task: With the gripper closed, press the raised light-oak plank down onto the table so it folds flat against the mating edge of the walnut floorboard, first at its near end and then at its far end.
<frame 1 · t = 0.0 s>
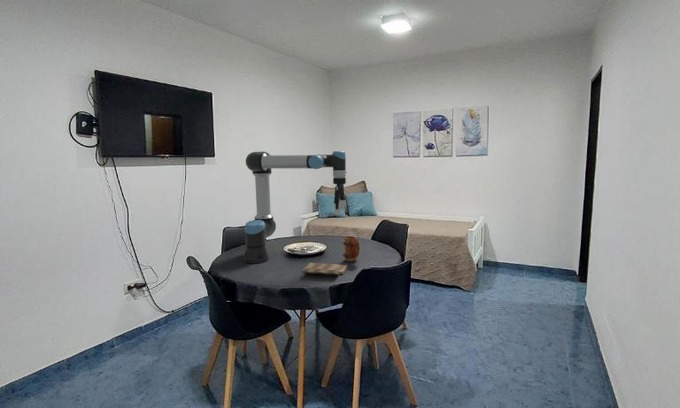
hand: (339, 212, 224), 28 cm above the table, fingers open, 13 cm apart
plank: (321, 271, 196), point 2 cm above the table, hinge at 25.0°
floorboard: (325, 269, 206), on the table
mug: (352, 262, 220), on the table
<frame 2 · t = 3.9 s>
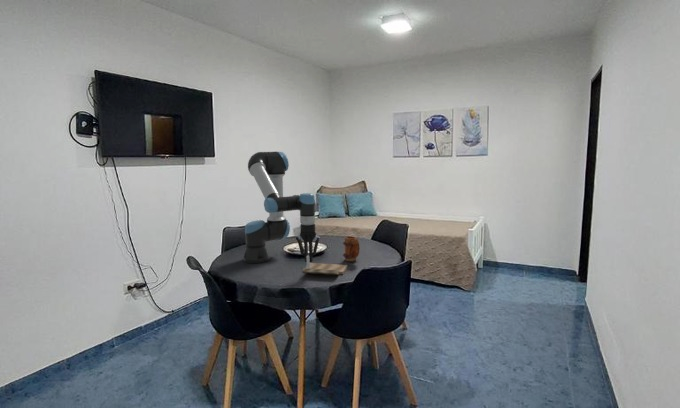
hand: (308, 268, 194), 5 cm above the table, fingers closed
plank: (321, 271, 196), point 2 cm above the table, hinge at 24.9°, touching gripper
everything else where it was.
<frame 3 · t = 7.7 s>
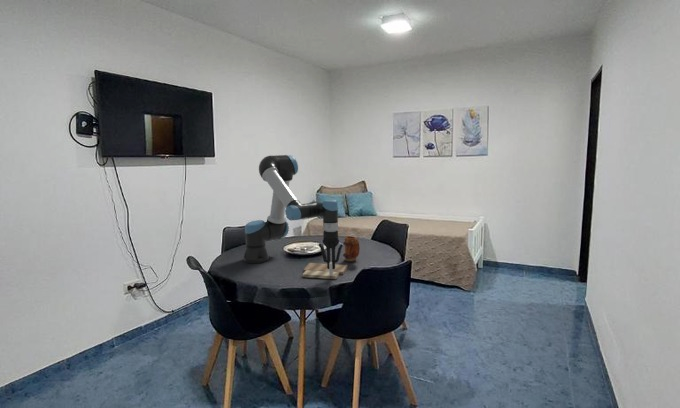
hand: (331, 274, 192), 2 cm above the table, fingers closed
plank: (321, 274, 196), point 1 cm above the table, hinge at 2.1°, touching gripper
everything else where it was.
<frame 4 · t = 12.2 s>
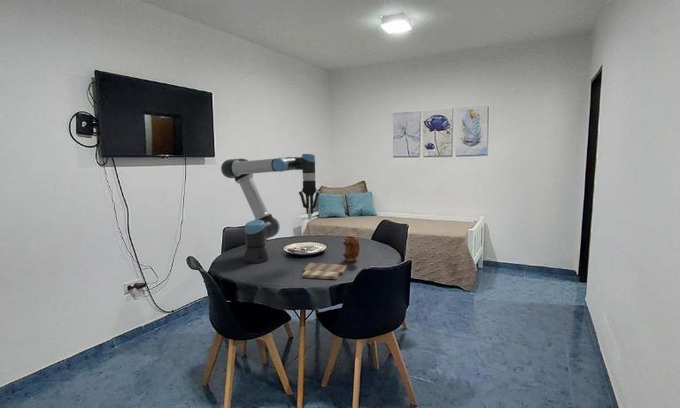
hand: (310, 219, 223), 24 cm above the table, fingers closed
plank: (321, 274, 196), point 1 cm above the table, hinge at 1.5°
everything else where it was.
at the end: plank at +2° (first picture: +25°) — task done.
